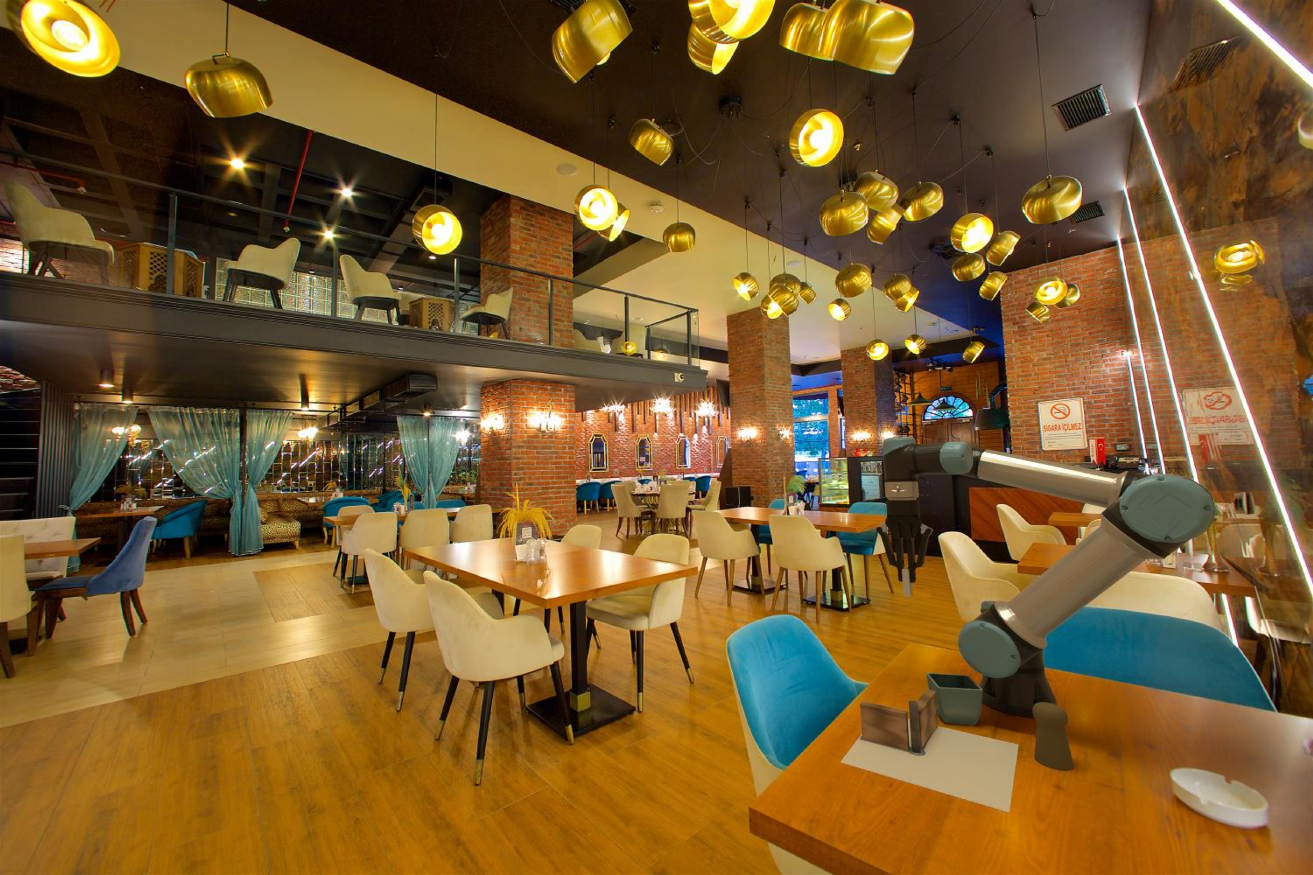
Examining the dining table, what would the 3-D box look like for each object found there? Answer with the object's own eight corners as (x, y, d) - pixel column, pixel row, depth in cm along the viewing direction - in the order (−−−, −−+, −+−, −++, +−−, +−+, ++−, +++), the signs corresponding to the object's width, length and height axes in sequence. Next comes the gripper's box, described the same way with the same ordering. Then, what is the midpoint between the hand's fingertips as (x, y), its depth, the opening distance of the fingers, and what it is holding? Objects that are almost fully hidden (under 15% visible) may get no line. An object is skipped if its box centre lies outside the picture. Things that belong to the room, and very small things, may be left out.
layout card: (1019, 749, 102) (1018, 744, 102) (1009, 819, 81) (1009, 811, 81) (878, 716, 118) (878, 711, 118) (840, 767, 97) (840, 761, 97)
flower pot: (987, 734, 108) (983, 689, 109) (940, 731, 110) (937, 686, 111) (970, 716, 117) (967, 674, 118) (928, 713, 119) (925, 672, 120)
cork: (1067, 761, 97) (1062, 700, 98) (1081, 779, 92) (1075, 713, 93) (1029, 757, 99) (1024, 696, 100) (1040, 773, 94) (1035, 709, 95)
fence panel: (922, 747, 101) (920, 711, 101) (912, 745, 102) (910, 708, 102) (938, 724, 110) (936, 690, 111) (929, 722, 111) (927, 688, 112)
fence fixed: (921, 750, 100) (918, 701, 101) (919, 754, 99) (916, 704, 100) (864, 735, 107) (862, 689, 108) (861, 739, 105) (859, 692, 106)
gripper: (870, 499, 132) (876, 595, 130) (928, 499, 124) (934, 601, 122) (878, 498, 138) (884, 590, 136) (933, 498, 130) (940, 595, 128)
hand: (908, 595), depth 129 cm, fingers closed
